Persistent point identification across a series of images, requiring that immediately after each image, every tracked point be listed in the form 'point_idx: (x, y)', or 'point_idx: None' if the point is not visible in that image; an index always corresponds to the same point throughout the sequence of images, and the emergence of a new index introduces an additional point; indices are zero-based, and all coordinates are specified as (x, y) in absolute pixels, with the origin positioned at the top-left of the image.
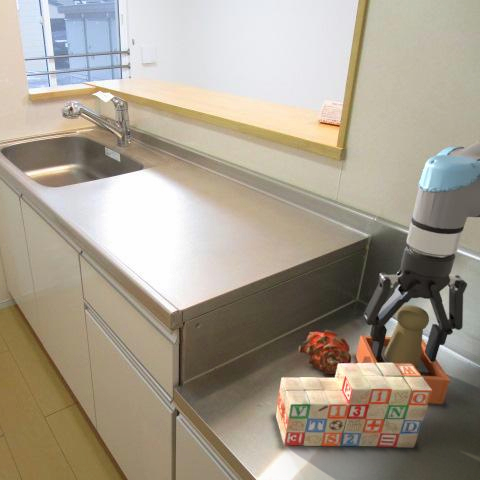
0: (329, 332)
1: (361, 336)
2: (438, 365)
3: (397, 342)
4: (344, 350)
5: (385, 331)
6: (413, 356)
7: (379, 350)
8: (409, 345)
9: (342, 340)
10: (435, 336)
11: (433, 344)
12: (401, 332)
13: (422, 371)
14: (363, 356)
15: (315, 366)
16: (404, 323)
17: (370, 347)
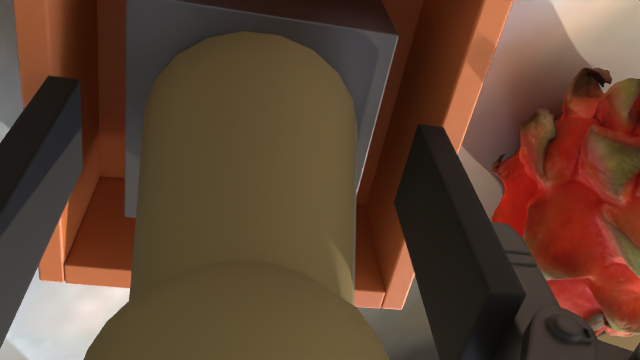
0: (636, 319)
1: (402, 302)
2: (32, 43)
3: (349, 197)
4: (624, 188)
5: (491, 279)
6: (235, 87)
7: (449, 161)
8: (282, 152)
9: (576, 265)
10: (11, 230)
11: (39, 174)
12: (347, 266)
13: (171, 1)
14: None
15: None
16: (378, 345)
17: None
